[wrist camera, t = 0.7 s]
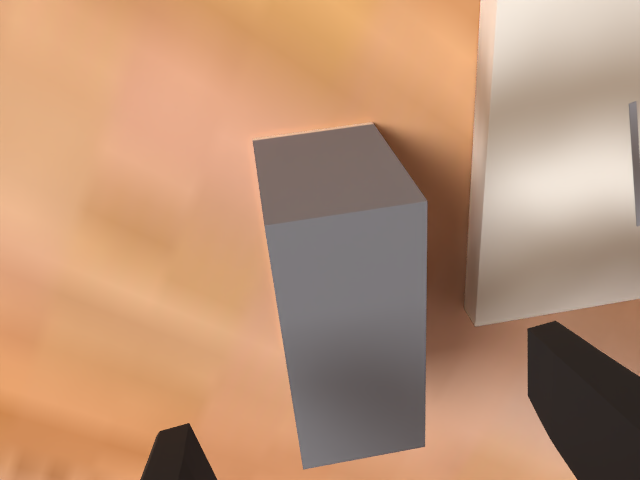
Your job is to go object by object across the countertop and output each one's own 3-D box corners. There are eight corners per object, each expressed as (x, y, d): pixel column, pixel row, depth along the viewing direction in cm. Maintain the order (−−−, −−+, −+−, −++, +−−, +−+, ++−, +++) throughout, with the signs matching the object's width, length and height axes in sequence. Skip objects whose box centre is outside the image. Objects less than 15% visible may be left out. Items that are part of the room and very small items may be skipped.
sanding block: (380, 329, 24) (425, 446, 19) (284, 345, 23) (303, 469, 18) (371, 120, 19) (427, 201, 14) (252, 137, 19) (264, 225, 14)
